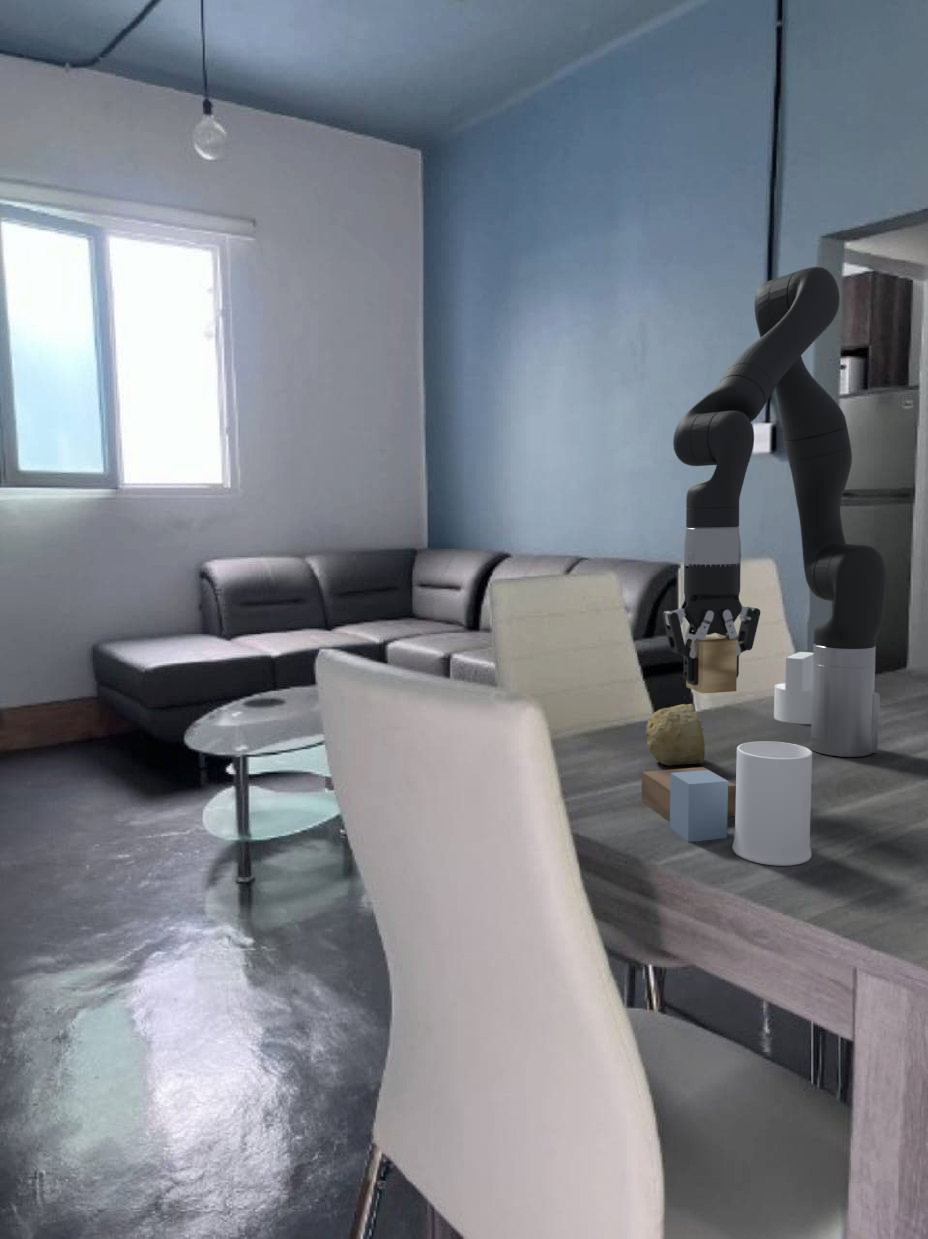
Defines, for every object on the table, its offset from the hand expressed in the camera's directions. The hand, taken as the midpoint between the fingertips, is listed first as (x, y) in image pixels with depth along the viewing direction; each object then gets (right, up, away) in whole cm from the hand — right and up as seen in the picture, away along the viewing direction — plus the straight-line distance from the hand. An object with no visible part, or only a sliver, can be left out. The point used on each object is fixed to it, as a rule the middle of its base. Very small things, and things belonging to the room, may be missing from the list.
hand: (710, 682), depth 129 cm
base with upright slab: (+28, -10, +45) cm, 54 cm away
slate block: (-6, -17, -17) cm, 25 cm away
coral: (-2, -14, +15) cm, 20 cm away
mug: (+1, -18, -22) cm, 28 cm away
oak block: (0, -1, 0) cm, 1 cm away
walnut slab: (-5, -16, -7) cm, 18 cm away
